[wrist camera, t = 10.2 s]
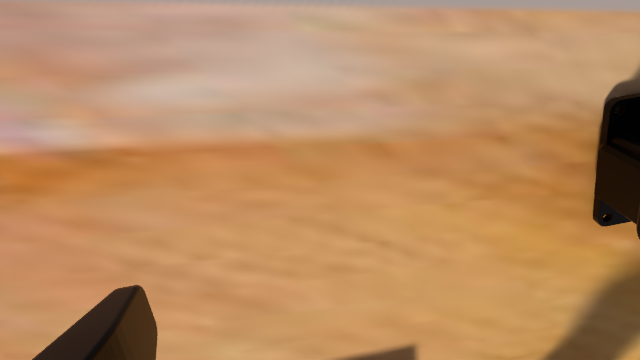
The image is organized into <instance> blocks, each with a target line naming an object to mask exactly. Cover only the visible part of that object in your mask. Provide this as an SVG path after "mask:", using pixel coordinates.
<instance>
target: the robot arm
mask: <svg viewBox="0 0 640 360" xmlns="http://www.w3.org/2000/svg"><path fill="white" fill-rule="evenodd" d="M618 106H620V108H619V110H618V111H617V112H616V113H615V110H616V108H617V107H618ZM594 194H595V200H594V209H593V219H594V221H595V222H597V223H598V224H599V225H601V226H610V225H616V224H621V223H626V222H631V221H632V222H633V223H635V224H636V225H637V234H638V237H639V239H640V93H638V94H632V95H627V96H621V97H616V98H613V99H611V100H610V101H608V102H607V104H606V105H605V108H604V114H603V123H602V133H601V142H600V149H599V154H598V163H597V173H596V183H595V192H594ZM605 214H607V215H606V216H605V217H604V218H603V216H604V215H605ZM156 348H157V326H156V322H155V319H154V316H153V313H152V310H151V308H150V305H149V302H148V299H147V297H146V294H145V291H144V290H143V288H142V287H141V286H139V285H134V286H129V287H123V288H118V289H116V290H114V291H113V292H112V293H110V294H109V295H108V296H107V297H106V298H104V299H103V300H102V301H101V302H100V303H99V304H97V305H96V306H95V307H94V308H93V309H91V310H90V311H89V312H88V313H87V314H86V315H84V316H83V317H82V318H81V319H80V320H78V321H77V322H76V323H75V324H74V325H72V326H71V327H70V328H69V329H68V330H67V331H65V332H64V333H63V334H62V335H61V336H59V337H58V338H57V339H56V340H55V341H54V342H52V343H51V344H50V345H49V346H48V347H46V348H45V349H44V350H43V351H42V352H40V353H39V354H38V355H37V356H36V357H35V358H33V359H32V360H156Z"/></svg>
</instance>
